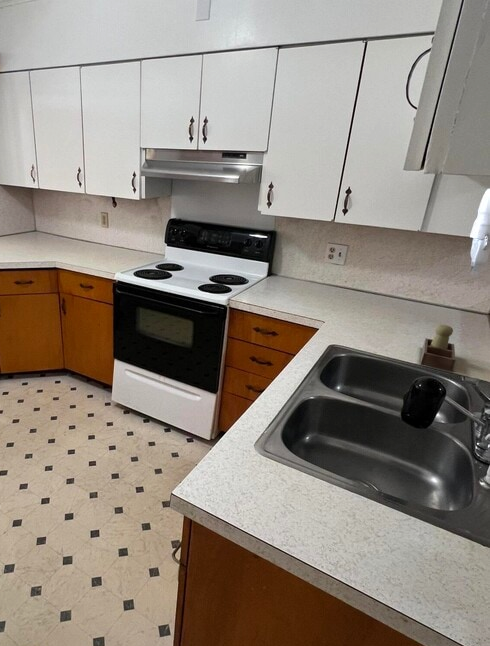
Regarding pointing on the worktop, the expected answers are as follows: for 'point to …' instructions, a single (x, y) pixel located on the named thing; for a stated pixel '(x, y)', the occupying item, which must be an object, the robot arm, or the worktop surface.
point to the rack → (438, 356)
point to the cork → (442, 336)
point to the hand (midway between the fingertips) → (473, 273)
